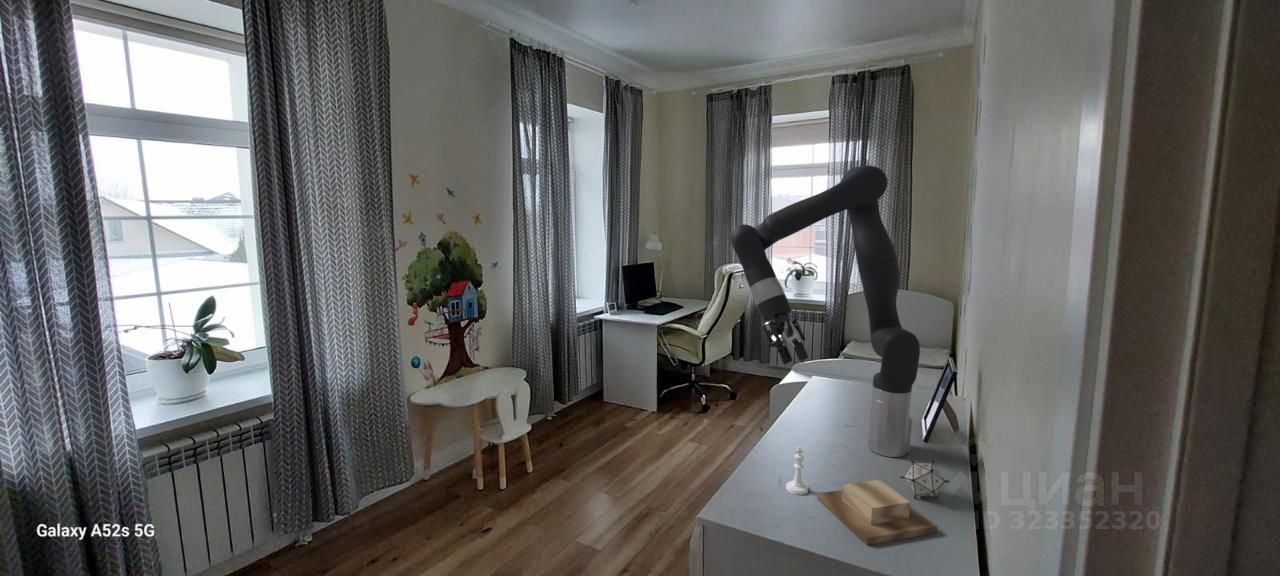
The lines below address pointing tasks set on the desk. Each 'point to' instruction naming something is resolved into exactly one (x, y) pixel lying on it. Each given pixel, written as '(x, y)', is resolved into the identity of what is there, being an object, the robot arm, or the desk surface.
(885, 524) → the walnut base
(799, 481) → the chess piece
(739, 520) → the desk surface
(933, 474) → the game die
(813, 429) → the desk surface
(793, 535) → the desk surface
